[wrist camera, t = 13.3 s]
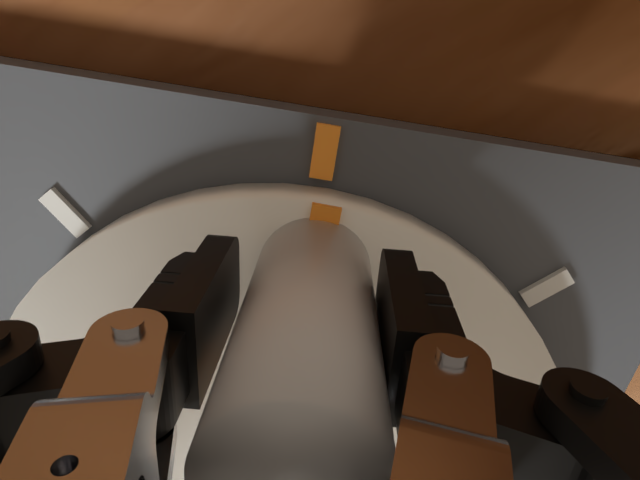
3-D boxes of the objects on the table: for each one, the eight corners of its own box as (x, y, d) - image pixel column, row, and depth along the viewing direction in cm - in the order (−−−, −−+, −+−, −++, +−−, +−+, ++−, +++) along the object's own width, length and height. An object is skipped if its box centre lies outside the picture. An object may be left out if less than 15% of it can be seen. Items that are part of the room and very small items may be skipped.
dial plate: (483, 610, 25) (493, 648, 23) (24, 547, 24) (3, 583, 22) (698, 169, 15) (740, 184, 14) (-53, 47, 15) (-100, 48, 13)
